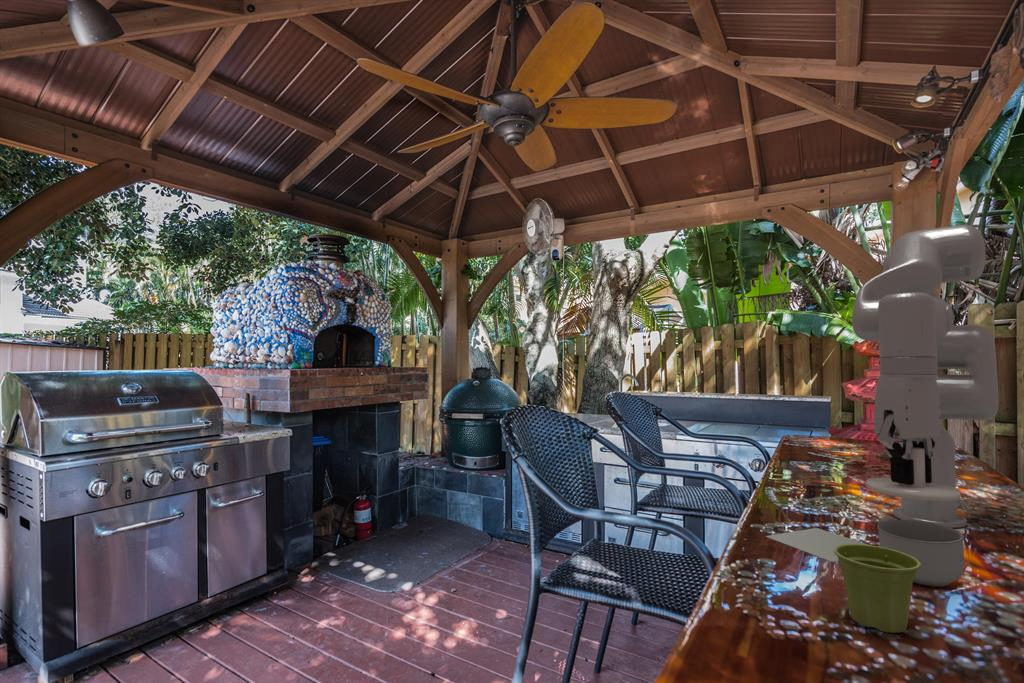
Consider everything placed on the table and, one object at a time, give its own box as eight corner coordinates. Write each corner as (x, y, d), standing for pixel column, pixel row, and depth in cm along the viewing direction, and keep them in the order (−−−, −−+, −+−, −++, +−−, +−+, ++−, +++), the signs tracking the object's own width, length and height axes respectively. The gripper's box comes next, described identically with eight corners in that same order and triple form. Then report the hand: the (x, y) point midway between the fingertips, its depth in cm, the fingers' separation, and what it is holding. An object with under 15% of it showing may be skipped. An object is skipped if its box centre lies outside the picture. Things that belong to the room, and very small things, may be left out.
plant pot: (819, 607, 73) (818, 544, 73) (882, 604, 74) (880, 542, 74) (871, 642, 63) (869, 570, 64) (942, 639, 64) (940, 567, 65)
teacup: (983, 597, 76) (981, 541, 76) (899, 591, 78) (897, 536, 78) (927, 561, 89) (926, 514, 90) (857, 557, 91) (856, 511, 92)
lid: (896, 481, 92) (895, 441, 92) (978, 497, 81) (976, 451, 81) (849, 486, 87) (848, 444, 88) (929, 503, 76) (928, 455, 76)
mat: (816, 529, 106) (816, 527, 106) (887, 553, 93) (887, 550, 93) (765, 538, 101) (765, 536, 101) (832, 564, 88) (832, 561, 88)
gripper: (915, 369, 91) (918, 474, 90) (850, 368, 85) (853, 481, 84) (965, 369, 84) (970, 483, 83) (898, 368, 78) (902, 491, 77)
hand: (911, 481), depth 84 cm, fingers closed on lid, 3 cm apart
